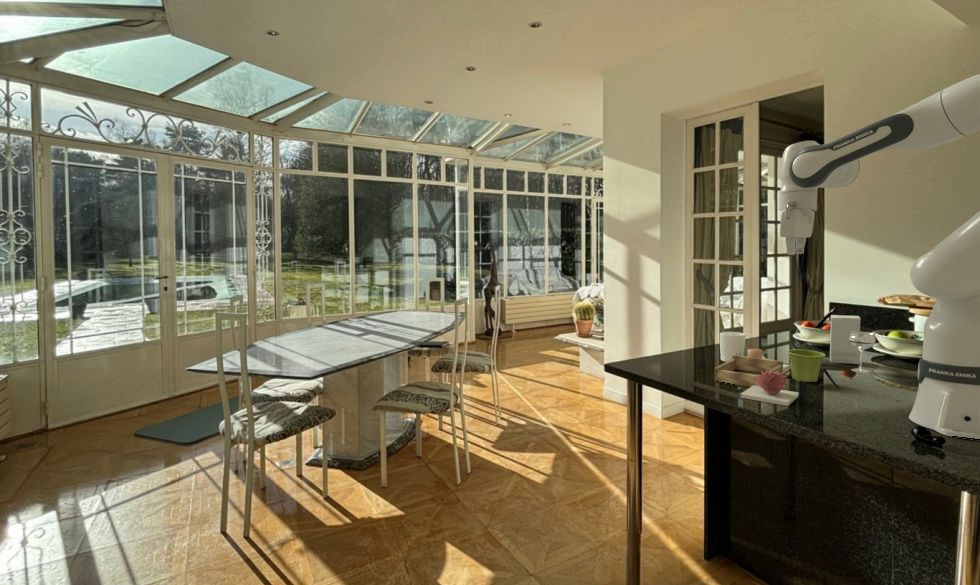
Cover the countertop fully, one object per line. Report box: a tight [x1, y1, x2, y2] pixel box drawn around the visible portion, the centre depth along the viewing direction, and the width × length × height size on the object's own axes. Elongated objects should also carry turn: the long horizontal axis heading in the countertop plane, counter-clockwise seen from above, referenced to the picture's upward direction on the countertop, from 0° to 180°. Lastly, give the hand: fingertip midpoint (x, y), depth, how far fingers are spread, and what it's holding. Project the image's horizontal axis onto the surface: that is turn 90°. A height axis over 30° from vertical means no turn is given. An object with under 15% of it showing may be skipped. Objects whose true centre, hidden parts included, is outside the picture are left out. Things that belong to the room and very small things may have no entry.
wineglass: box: [849, 330, 876, 374], centre depth 162 cm, size 7×7×12 cm
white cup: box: [719, 331, 746, 363], centre depth 174 cm, size 8×8×10 cm
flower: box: [754, 370, 789, 394], centre depth 135 cm, size 8×8×6 cm
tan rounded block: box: [746, 348, 763, 359], centre depth 167 cm, size 4×4×5 cm
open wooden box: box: [713, 355, 784, 388], centre depth 153 cm, size 14×17×5 cm
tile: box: [740, 385, 800, 407], centre depth 136 cm, size 11×11×1 cm
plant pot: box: [786, 349, 826, 383], centre depth 149 cm, size 9×9×9 cm
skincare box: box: [829, 314, 862, 365], centre depth 174 cm, size 8×7×16 cm
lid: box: [783, 362, 791, 375], centre depth 166 cm, size 14×16×1 cm
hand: (795, 254), depth 142 cm, fingers open, 8 cm apart
